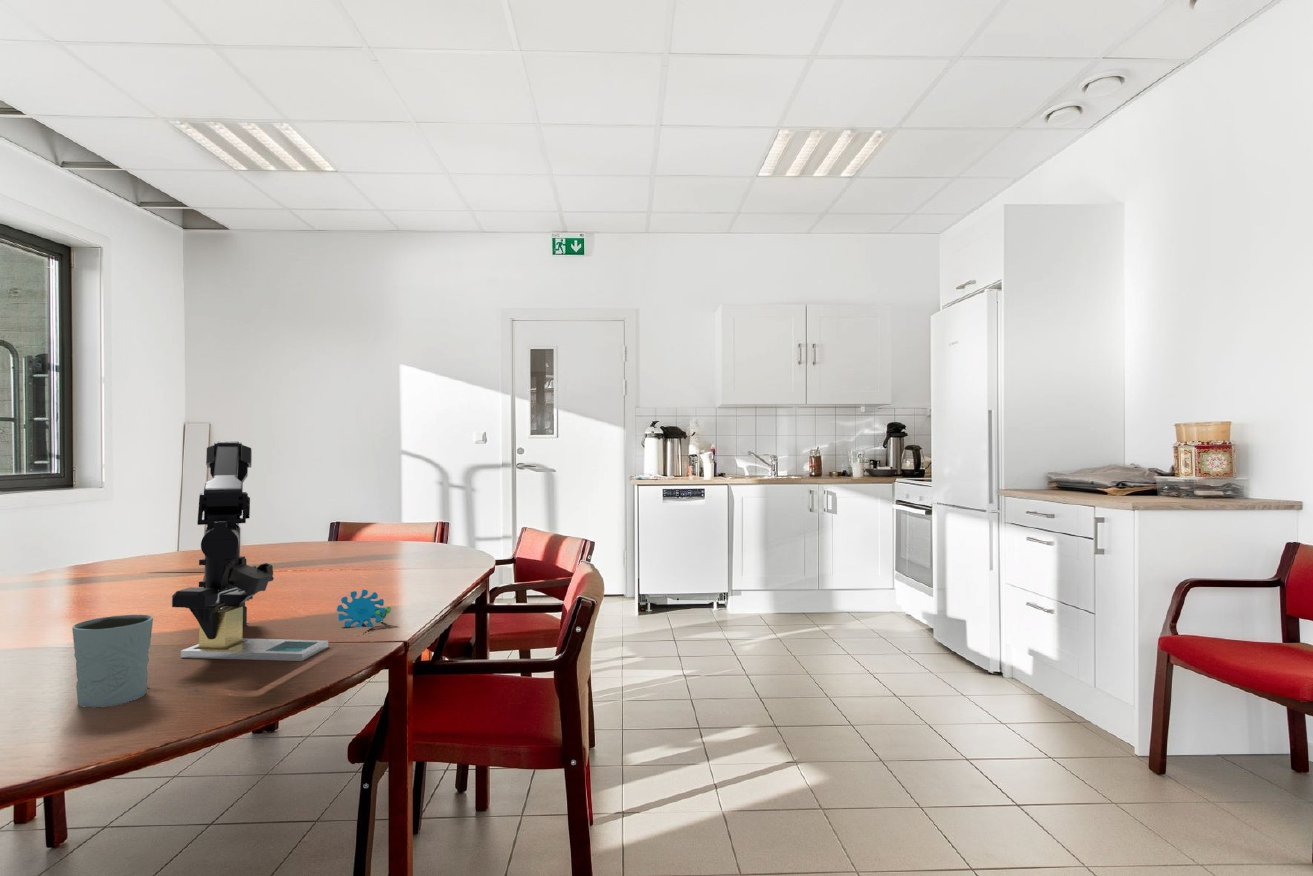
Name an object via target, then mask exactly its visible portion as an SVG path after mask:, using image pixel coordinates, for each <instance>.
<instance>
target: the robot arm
mask: <svg viewBox="0 0 1313 876" xmlns="http://www.w3.org/2000/svg"><path fill="white" fill-rule="evenodd" d="M252 453H253V452H252V447H249V446H246V445H244V444H243V442H239V441H231V440H230V441H229V440H228V441H226V440H222V441H221V440H220V441H217V442H214V444H213V445H210V446H208V447H206V457H205V458H206V461H205V464H206V468H207V469H209V468H210V470H209V471H210V472H209V473H210V475H211V478H212V479H210V480H208V481H206V482H205V483H204V489H203V492H200V493H199V499H198V510H197V522H196V523H197V526H206V528H205V530H204V535H203V537H202V539H201V541H200V550H201V551H202V553H203V555H204V558H201V559H199V560H198V565H199V566H204V573H203V574H204V575H203V580H201V581H198V587H194V586H193V587H188V588H183V589H180V590H176V592H174V593H173V595H171V608H186V609H189V611H190V613H192V615H193V617H194V618H195V619H196V621H197V623H198V624H200V626H201V628H202V629H203V631H204V633H205V635H206V636H207V638H208V639H215V635H216V628H217V619H218V611H219V610H220V609H221V608H222V607H223V606H243V627H245V626H247V625H250V623H248V621H247V618H248V607H247V606H246V602H249V600H253V599H254V596H255V595H256V594H258V593H259V592H265V591H266V590H267V587H268V584H269V582H270V583H271V582H273V581H274V579H275V578H274V569H273V567H274V566H273V564H271V563H267V562H264V563H261V564H259V565H258V566H256V565H255V566H250V565H248V564H247V558H246V556H243V555H241V527H240V525H239V524H246V522H247V519H250V514H251V513H250V512H251V497H250V496H249V493H247V492H246V491H245V492H244V491H243V490H244V488H243V487H244V486H243V485H244V482H245V480H246V479H247V478H248V475H249V468H252V461H253V460H252V458H253V457H252ZM241 516H242V517H241Z"/></svg>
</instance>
